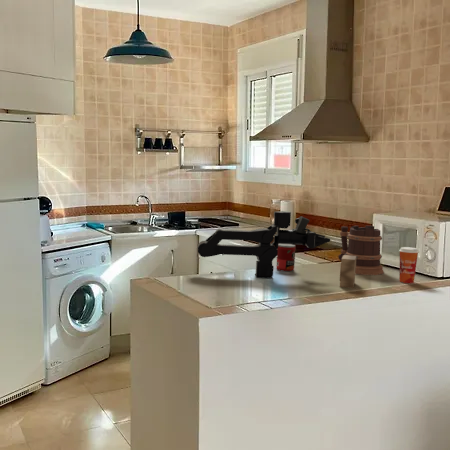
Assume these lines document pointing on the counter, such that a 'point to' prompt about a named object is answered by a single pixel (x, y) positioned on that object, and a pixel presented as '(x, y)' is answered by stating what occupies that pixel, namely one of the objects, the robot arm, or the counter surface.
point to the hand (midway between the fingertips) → (327, 238)
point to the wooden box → (347, 271)
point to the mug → (363, 248)
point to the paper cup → (408, 264)
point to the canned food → (285, 257)
